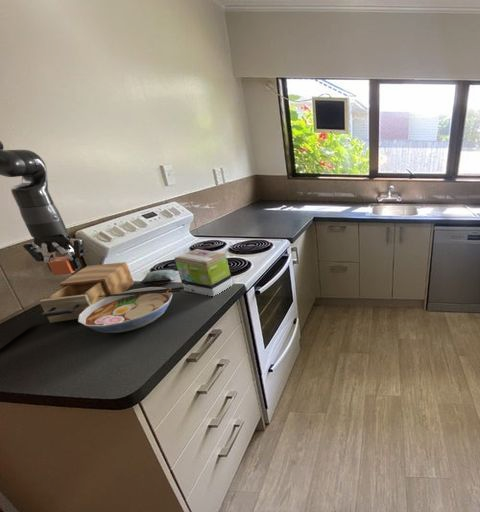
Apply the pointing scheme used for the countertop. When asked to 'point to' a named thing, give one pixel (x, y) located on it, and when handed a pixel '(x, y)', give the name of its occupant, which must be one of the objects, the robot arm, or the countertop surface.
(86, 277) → the cabinet
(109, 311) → the ramen bowl
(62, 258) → the block
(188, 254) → the tea box
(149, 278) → the packaged food
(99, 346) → the countertop surface
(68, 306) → the drawer
